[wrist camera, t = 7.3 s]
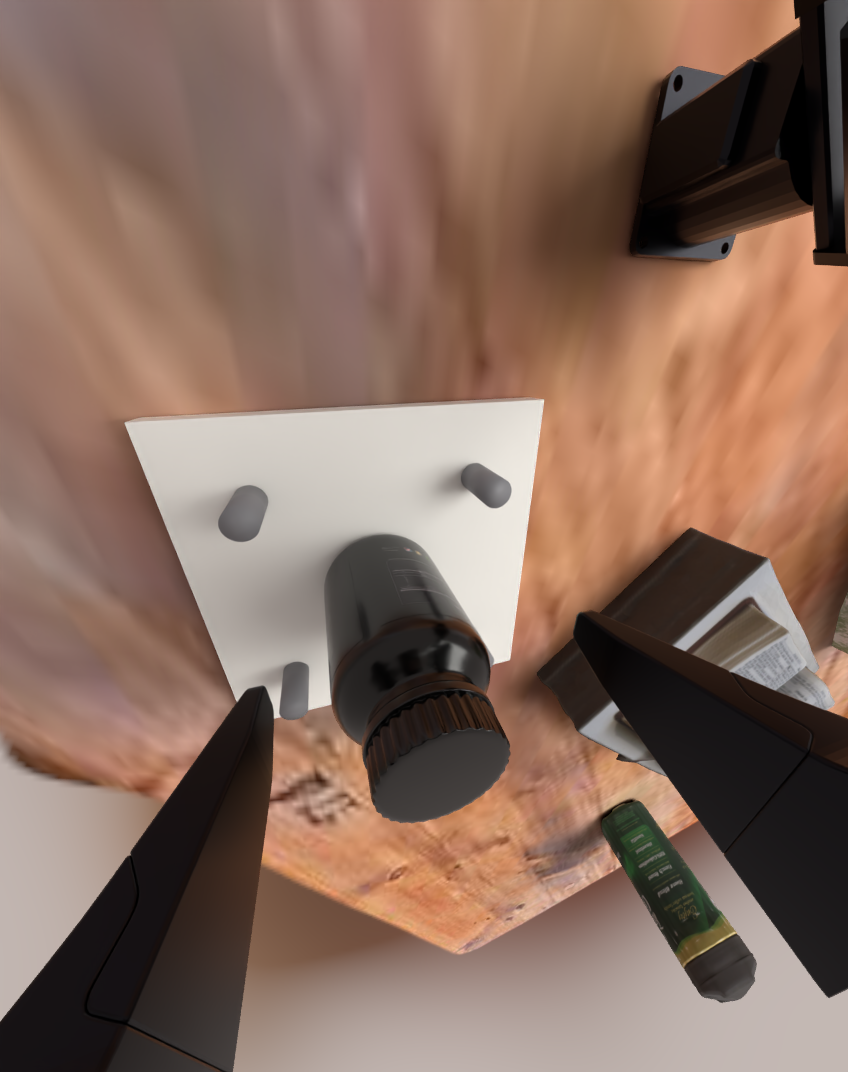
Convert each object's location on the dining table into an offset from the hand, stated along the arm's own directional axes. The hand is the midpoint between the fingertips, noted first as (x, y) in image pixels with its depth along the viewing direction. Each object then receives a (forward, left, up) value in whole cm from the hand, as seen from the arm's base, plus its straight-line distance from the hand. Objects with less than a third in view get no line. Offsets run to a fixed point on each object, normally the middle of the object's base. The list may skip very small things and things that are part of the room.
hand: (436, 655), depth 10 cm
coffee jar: (-35, +59, -13) cm, 70 cm away
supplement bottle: (0, +5, -11) cm, 12 cm away
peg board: (0, +5, -13) cm, 14 cm away
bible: (-29, +21, -13) cm, 38 cm away
